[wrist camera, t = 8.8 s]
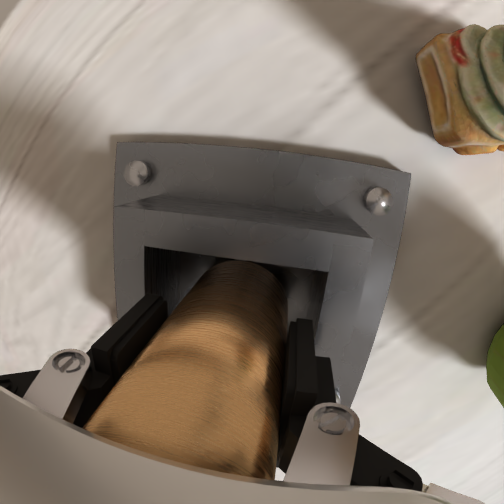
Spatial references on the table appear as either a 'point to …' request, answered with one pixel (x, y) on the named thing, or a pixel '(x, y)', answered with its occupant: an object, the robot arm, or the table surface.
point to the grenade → (496, 365)
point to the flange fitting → (263, 234)
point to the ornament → (465, 88)
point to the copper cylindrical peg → (208, 377)
